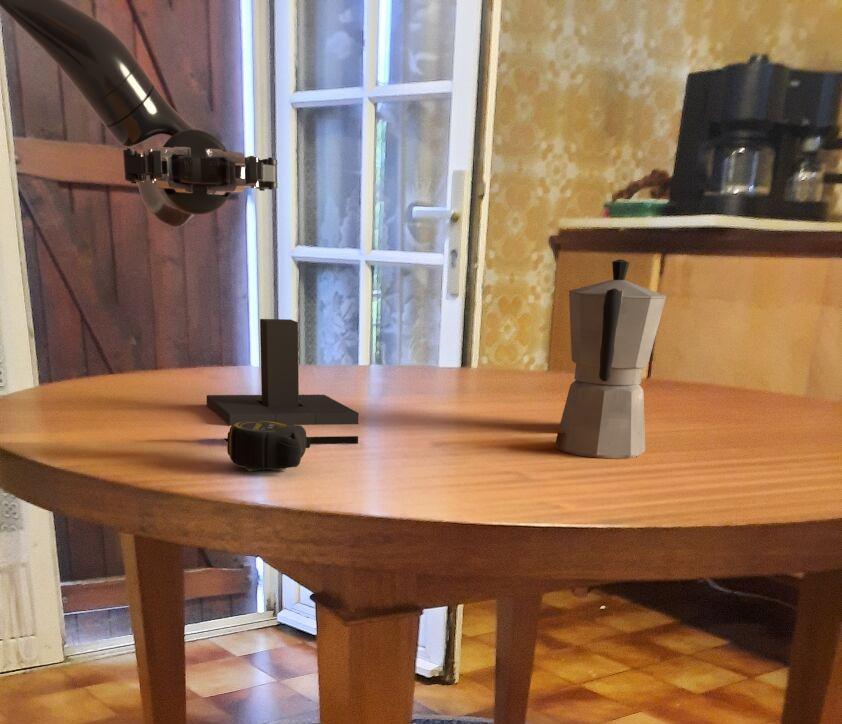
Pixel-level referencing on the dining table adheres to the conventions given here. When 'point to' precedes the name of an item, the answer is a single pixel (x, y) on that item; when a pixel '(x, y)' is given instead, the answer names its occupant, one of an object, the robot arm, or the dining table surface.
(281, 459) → the tape measure
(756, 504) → the dining table surface
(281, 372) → the bar
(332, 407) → the base pad
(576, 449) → the coffeepot
